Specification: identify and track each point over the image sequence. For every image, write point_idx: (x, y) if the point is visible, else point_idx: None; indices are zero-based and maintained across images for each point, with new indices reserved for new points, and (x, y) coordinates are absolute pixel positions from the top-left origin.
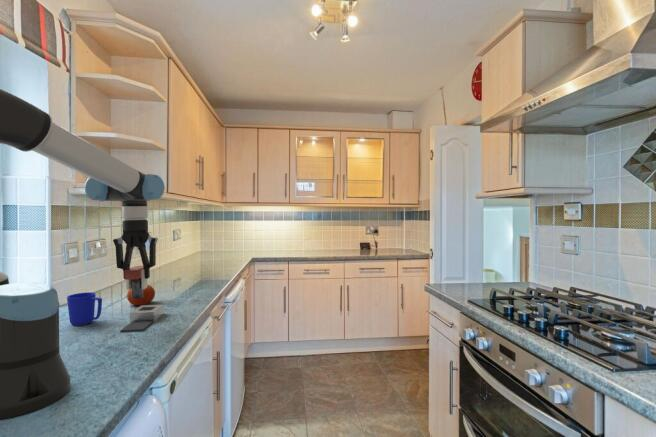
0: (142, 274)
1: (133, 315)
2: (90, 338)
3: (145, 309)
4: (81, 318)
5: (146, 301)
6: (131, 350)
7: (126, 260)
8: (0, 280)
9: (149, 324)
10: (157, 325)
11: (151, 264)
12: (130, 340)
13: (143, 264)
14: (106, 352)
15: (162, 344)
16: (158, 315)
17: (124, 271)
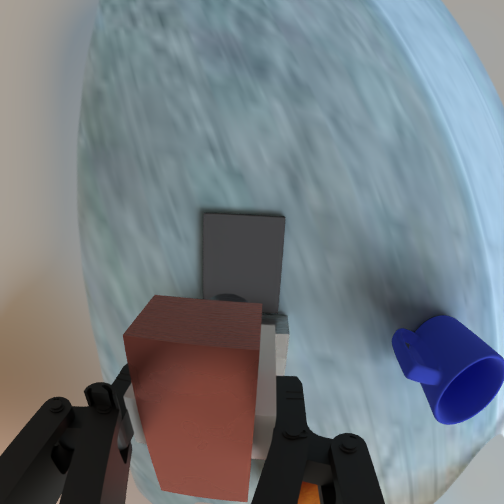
0: None
1: (275, 328)
2: (364, 172)
3: None
4: (439, 324)
5: None
6: (181, 36)
7: (271, 496)
8: None
9: (203, 270)
10: (177, 266)
11: (50, 412)
12: (214, 118)
13: (107, 431)
14: (251, 30)
15: (108, 75)
16: None
17: (259, 344)
